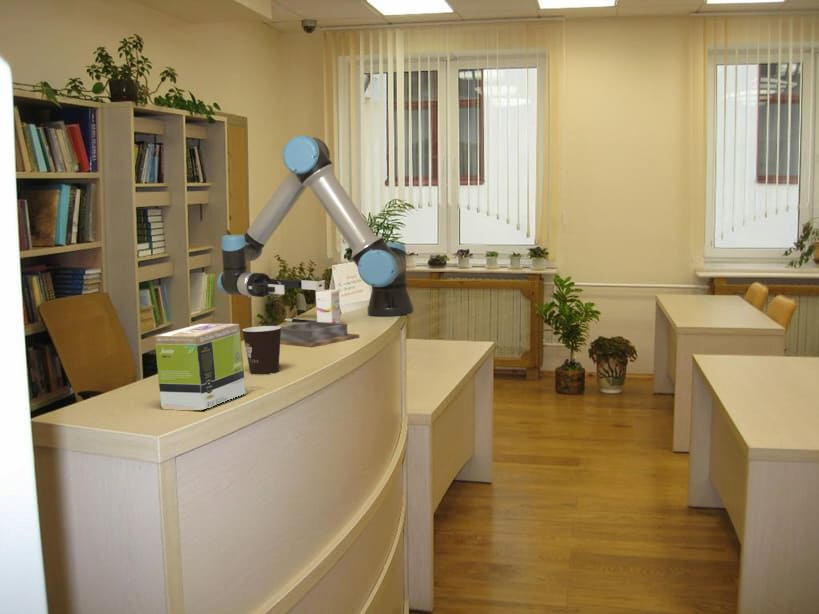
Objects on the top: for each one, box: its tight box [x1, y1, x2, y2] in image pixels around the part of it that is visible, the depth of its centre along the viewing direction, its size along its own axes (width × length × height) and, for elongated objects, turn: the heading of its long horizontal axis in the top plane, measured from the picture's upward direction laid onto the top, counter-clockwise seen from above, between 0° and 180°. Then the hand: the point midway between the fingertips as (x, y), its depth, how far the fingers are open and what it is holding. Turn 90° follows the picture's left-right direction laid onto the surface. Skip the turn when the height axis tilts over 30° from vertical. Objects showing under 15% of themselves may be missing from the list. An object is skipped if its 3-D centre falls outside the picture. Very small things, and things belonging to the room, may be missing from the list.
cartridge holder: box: [280, 320, 360, 348], centre depth 257 cm, size 18×20×4 cm
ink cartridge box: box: [315, 279, 341, 324], centre depth 275 cm, size 9×5×15 cm, turn 168°
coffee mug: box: [241, 325, 282, 375], centre depth 212 cm, size 12×9×10 cm
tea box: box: [154, 323, 247, 409], centre depth 181 cm, size 15×10×15 cm, turn 157°
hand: (300, 287), depth 281 cm, fingers open, 13 cm apart
